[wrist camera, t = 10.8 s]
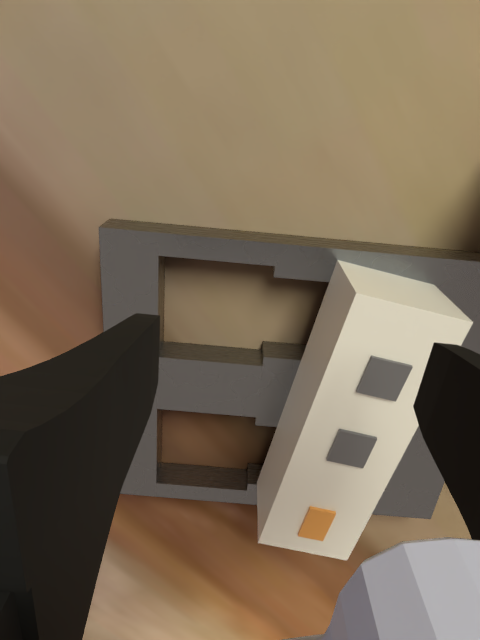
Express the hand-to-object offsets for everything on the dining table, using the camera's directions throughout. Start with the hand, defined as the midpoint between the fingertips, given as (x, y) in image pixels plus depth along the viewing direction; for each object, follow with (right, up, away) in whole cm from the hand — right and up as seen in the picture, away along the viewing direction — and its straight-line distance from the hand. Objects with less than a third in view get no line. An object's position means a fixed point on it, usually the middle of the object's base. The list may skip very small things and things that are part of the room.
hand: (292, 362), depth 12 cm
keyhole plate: (+1, -2, +12) cm, 12 cm away
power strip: (+3, -2, +11) cm, 12 cm away
